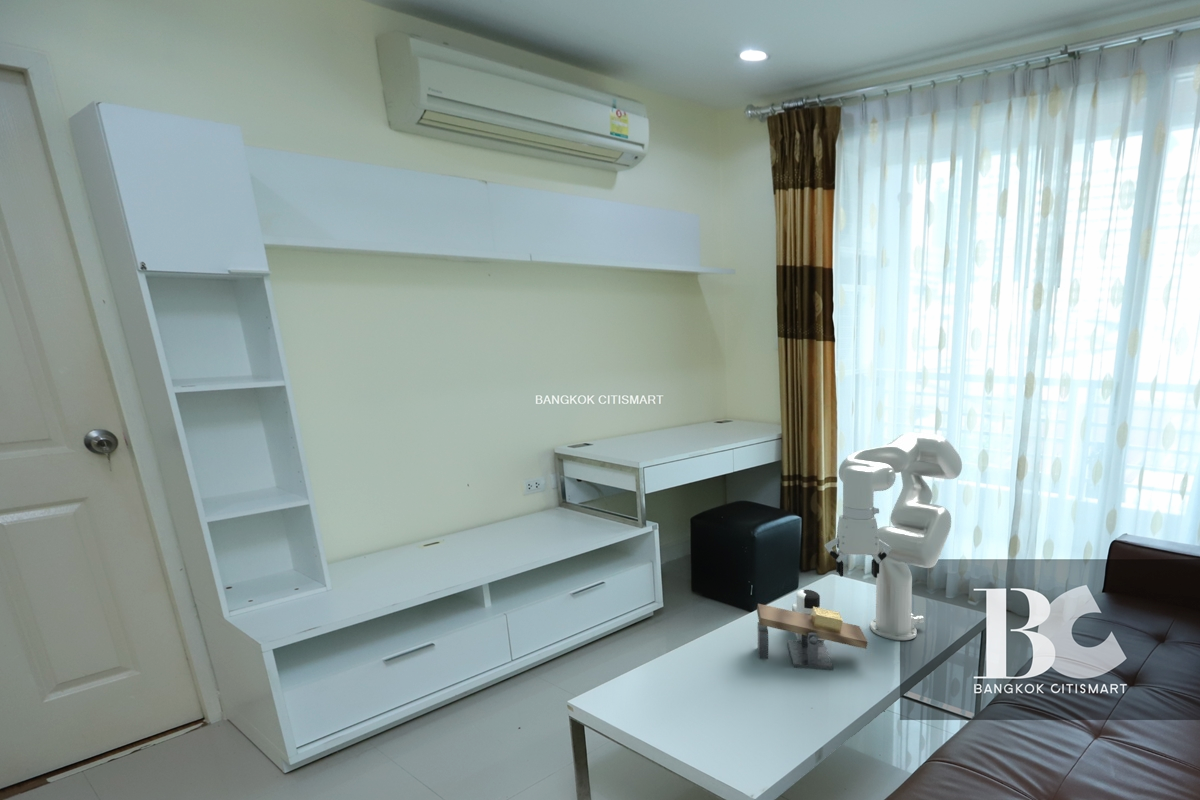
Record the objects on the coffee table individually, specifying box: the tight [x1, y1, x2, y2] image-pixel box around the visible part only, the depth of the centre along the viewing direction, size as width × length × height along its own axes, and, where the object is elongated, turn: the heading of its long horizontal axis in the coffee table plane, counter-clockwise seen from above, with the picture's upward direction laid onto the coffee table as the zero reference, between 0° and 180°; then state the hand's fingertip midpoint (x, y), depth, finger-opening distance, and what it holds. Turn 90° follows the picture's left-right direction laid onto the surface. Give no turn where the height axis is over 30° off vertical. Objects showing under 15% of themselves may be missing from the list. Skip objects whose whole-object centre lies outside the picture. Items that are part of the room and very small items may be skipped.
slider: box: [811, 607, 844, 632], centre depth 164 cm, size 7×5×4 cm
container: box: [791, 589, 825, 641], centre depth 177 cm, size 8×8×13 cm
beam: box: [756, 603, 869, 650], centre depth 165 cm, size 28×9×2 cm, turn 79°
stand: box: [757, 614, 834, 671], centre depth 166 cm, size 19×14×10 cm
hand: (857, 575), depth 161 cm, fingers open, 8 cm apart
